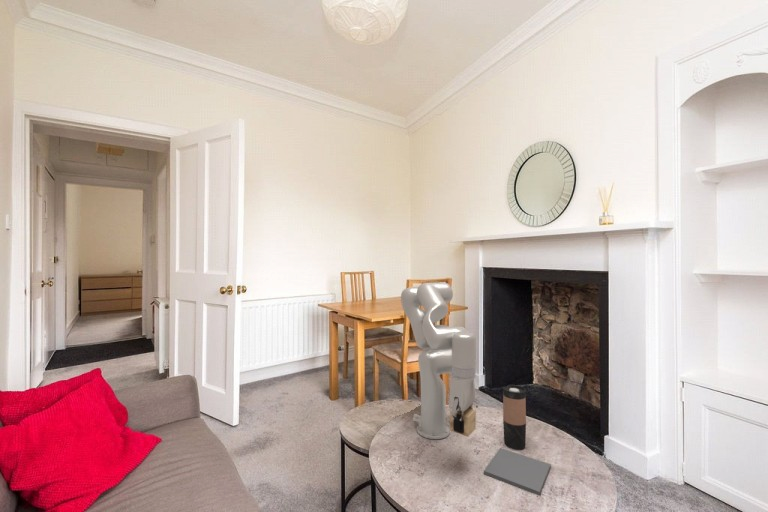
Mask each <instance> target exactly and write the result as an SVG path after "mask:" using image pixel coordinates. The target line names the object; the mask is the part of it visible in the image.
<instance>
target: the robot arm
mask: <svg viewBox="0 0 768 512" xmlns="http://www.w3.org/2000/svg"><path fill="white" fill-rule="evenodd" d="M453 296H454V293H453V289H452V286H451V285H450V284H449V283H448V282H444V281H443V282H442V281H441V282H440V281H438V282H424V283H421V284H419V285H418V286H410V287H406V288H405V289H402V292H401V295H400V301H401V307H402V310H403V313H404V314H405V316H406V317H407V320H408V321H409V323H410V325H411V326H410V327H411V330H412V333H413V337H414V339H415V343H416V346H417V347H418V348H419V349H421V350H422V351H420V353H419V354H418V356H417V357H418V358H417V360H418V368H419V374H420V414H417V413H413V417H412V422H415V423H417V426H416V431H417V433H418V435H419V436H421V437H423V438H426V439H430V440H443V439H444V438H445V439H446V438H447V437H448V436H449V435H450V433H451V431H450V427H449V426H448V425H447V421H446V412H447V411H446V410H447V409H446V407H447V406H446V398H447V397H446V396H447V395H446V392H447V391H446V384H445V382H444V381H443V379H442V378H441V377H440V375H444V374H450V376H452V377H451V380H450V385H449V386H450V387H449V403H448V404H449V406H448V407H449V408H450V409H451V410H450V412H451V414H452V415H453V419H454V427H453V430H454V431H456V432H459V433H462V434H463V433H464V420H463V414H464V411H465V410H466V409H467V408H470V409H473V404H474V402H475V397H476V396H475V395H476V393H475V391H476V389H475V388H476V384H475V379H476V377H477V375H476V367H477V365H476V363H477V362H476V361H477V359H476V356H477V352H476V351H477V349H476V348H477V337H476V335H475V334H474V333H473V332H472V331H468V330H467V328H466V327H463V326H457V325H456V326H448V325H446V324H435V323H437V322H439V321H440V320H442V319H444V318H445V317H446V316H447V315H448V312H449V306H448V303H450V302H452V300H453ZM421 307H423V309H422V308H421ZM458 407H460V408H461V409H458ZM473 410H474V409H473ZM457 411H459V412H461V413H460V415H459V414H458V413H457ZM456 432H455V433H456ZM459 433H458V434H459Z"/></svg>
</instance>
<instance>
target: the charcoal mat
mask: <svg viewBox="0 0 768 512" xmlns="http://www.w3.org/2000/svg"><path fill="white" fill-rule="evenodd" d="M551 469H552V465H551V464H550V463H548V462H545V461H542V460H539V459H536V458H533V457H530V456H527V455H524V454H520V453H517V452H514V451H512V450H508V449H506V448H502V447H499V449H498V450H497V451H496V453H495V454H494V456H493V457H492V459H491V460H490V462H489V463H488V464H487V465H486V467H485V469H483V475H484V476H485V475H486V476H488V477H490V478H493V479H496V480H499V481H501V482H503V483H505V484H508V485H511V486H513V487H517V488H519V489H522V490H524V491H527V492H530V493H532V494H535V495H537V496H540V495H541V494H542V492H543V491H542V490H543V488H544V486H545V483H546V480H547V478H548V476H549V474H550V470H551Z"/></svg>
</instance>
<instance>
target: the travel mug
mask: <svg viewBox="0 0 768 512" xmlns="http://www.w3.org/2000/svg"><path fill="white" fill-rule="evenodd" d="M502 388H503V389H502V390H503V391H502V392H503V393H502V397H503V400H502V401H503V402H502V405H503V406H502V407H503V408H502V409H503V410H502V411H503V412H502V413H503V414H502V417H503V418H502V422H503V424H502V425H503V442H504V445H505V447H507V448H508V449H511V450H514V451H515V450H516V451H522V450H524V449H525V448H526V440H527V439H526V438H527V436H526V435H527V434H526V433H527V410H526V409H527V407H526V403H527V402H526V401H527V400H526V388H524V387H522V386H521V385H515V384H508V385H506V386H503V387H502Z"/></svg>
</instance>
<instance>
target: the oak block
mask: <svg viewBox="0 0 768 512" xmlns="http://www.w3.org/2000/svg"><path fill="white" fill-rule="evenodd" d="M458 409H461V408H460V407H458ZM457 413H458V414H459V415H460V413H461V412H459V411H457ZM449 415H450V418H449V419H450V421H449V426H450V427H449V429H450V432H453V433H456V434H459V435H461V436H465V437H468V438H469V437H470V436H471V435H472V433H473V432H474V431H475V430H476V426H477V425H476V424H477V423H476V421H477V420H476V418H477V411H476V409H470V408H467V409H466V410H465V411H464V414H463V420H464V433H463V434H462V433H459V432H456V431H454V430H453V427H454V419H453V415H452V414H451V411H450V414H449Z"/></svg>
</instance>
